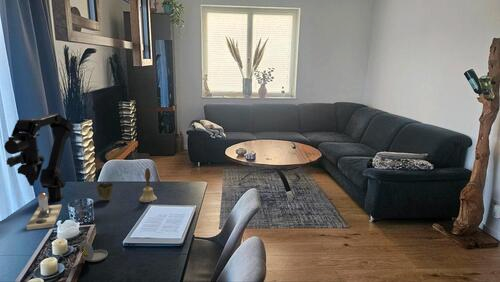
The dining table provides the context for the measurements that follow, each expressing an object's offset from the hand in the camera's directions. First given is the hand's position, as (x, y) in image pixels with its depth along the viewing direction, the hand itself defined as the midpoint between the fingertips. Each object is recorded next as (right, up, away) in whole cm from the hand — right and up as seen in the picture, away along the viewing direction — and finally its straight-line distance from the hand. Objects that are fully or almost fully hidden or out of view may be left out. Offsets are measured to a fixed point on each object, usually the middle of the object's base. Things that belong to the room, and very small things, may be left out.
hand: (33, 182), depth 145 cm
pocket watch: (+42, -22, -33) cm, 58 cm away
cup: (+24, -11, +16) cm, 31 cm away
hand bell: (+44, -11, +19) cm, 49 cm away
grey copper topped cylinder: (+8, -13, -6) cm, 16 cm away
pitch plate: (+8, -14, -4) cm, 17 cm away
